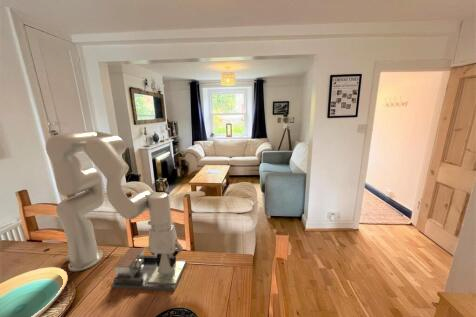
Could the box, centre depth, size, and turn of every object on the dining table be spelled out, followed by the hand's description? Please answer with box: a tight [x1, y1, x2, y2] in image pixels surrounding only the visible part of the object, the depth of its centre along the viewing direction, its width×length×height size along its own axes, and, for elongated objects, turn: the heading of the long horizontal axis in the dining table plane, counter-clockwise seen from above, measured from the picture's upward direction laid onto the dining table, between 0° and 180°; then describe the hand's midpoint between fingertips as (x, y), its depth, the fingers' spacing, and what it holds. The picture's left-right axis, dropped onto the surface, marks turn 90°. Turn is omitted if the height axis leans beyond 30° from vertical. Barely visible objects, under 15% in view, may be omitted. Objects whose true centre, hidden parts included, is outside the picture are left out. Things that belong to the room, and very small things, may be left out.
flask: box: [157, 254, 176, 274], centre depth 78 cm, size 7×7×10 cm
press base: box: [110, 255, 188, 292], centre depth 80 cm, size 25×14×4 cm, turn 86°
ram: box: [113, 247, 145, 278], centre depth 79 cm, size 8×10×7 cm
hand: (166, 263), depth 78 cm, fingers closed on flask, 4 cm apart
